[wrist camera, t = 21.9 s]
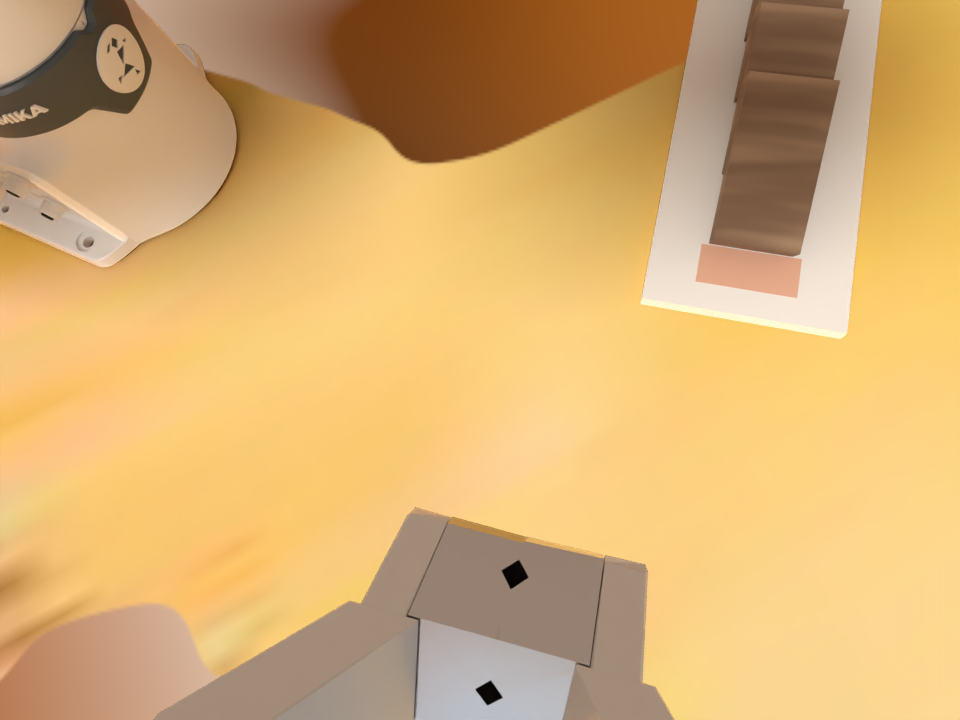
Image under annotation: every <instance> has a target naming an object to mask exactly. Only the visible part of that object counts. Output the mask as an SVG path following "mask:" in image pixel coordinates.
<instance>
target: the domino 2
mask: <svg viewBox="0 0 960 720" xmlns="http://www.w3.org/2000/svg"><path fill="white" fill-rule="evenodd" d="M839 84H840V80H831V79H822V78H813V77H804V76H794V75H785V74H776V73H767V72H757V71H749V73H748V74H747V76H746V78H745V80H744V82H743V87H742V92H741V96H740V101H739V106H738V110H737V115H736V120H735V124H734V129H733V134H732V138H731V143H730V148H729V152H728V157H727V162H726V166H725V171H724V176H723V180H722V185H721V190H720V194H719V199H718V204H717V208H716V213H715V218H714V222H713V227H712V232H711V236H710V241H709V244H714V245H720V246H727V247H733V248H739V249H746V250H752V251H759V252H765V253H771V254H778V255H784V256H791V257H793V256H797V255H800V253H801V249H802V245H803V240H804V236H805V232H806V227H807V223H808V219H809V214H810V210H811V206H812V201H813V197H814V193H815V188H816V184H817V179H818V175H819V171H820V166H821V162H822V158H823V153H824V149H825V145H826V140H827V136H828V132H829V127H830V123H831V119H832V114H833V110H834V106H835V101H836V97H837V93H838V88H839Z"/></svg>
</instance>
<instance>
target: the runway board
mask: <svg viewBox="0 0 960 720" xmlns="http://www.w3.org/2000/svg"><path fill="white" fill-rule="evenodd" d="M751 5H752V0H698V1H697V7H696V12H695V17H694V23H693V28H692V34H691V39H690V44H689V49H688V54H687V60H686V65H685V70H684V75H683V81H682V86H681V91H680V97H679V102H678V107H677V112H676V118H675V123H674V128H673V133H672V139H671V144H670V149H669V155H668V160H667V165H666V170H665V176H664V181H663V186H662V192H661V197H660V202H659V207H658V213H657V218H656V223H655V229H654V234H653V239H652V244H651V250H650V255H649V260H648V266H647V271H646V276H645V281H644V287H643V292H642V297H641V302H640V304H644V305H649V306H655V307H661V308H667V309H672V310H678V311H684V312H690V313H695V314H701V315H707V316H712V317H718V318H724V319H730V320H735V321H741V322H747V323H753V324H758V325H764V326H770V327H775V328H781V329H787V330H793V331H798V332H804V333H810V334H816V335H821V336H827V337H833V338H839V339H841V338H842V337H843V336H845V335H846V334H847V330H848V321H849V311H850V301H851V292H852V282H853V273H854V263H855V254H856V244H857V234H858V225H859V215H860V206H861V196H862V187H863V177H864V167H865V158H866V148H867V139H868V129H869V120H870V110H871V100H872V91H873V81H874V72H875V62H876V53H877V43H878V33H879V24H880V14H881V5H882V0H845V1H844V5H843V9H848V10H849V15H848V19H847V23H846V28H845V32H844V37H843V41H842V45H841V50H840V54H839V59H838V63H837V68H836V72H835V76H834V80H840V84H839V88H838V93H837V97H836V101H835V106H834V110H833V114H832V119H831V123H830V127H829V132H828V136H827V140H826V145H825V149H824V153H823V158H822V162H821V166H820V171H819V175H818V179H817V184H816V188H815V193H814V197H813V201H812V206H811V210H810V214H809V219H808V223H807V227H806V232H805V236H804V240H803V245H802V249H801V253H800V255H797V256H793V257H791V256H784V255H778V254H771V253H765V252H759V251H752V250H746V249H739V248H733V247H727V246H720V245H714V244H709V241H710V236H711V232H712V227H713V222H714V218H715V213H716V208H717V204H718V199H719V194H720V190H721V185H722V180H723V176H724V175H723V174H722V170H723V165H724V161H725V156H726V151H727V146H728V142H729V137H730V132H731V128H732V123H733V118H734V113H735V109H736V104H737V103H734V98H735V93H736V88H737V84H738V79H739V74H740V70H741V65H742V61H743V56H744V51H745V47H746V42H744V38H745V33H746V29H747V24H748V19H749V15H750V10H751Z"/></svg>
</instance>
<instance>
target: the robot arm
mask: <svg viewBox="0 0 960 720" xmlns="http://www.w3.org/2000/svg"><path fill="white" fill-rule="evenodd" d="M236 141H237V134H236V125H235V120H234V117H233V114H232V111H231V109H230V107H229V105H228V104H227V102H226V101H225V99H224V98H223V97H222V96H221V94H220V93H219V92H218V91H217V90H216V89H215V88H214V87H213V86H212V85H211V84H210V83H209V82H208V80H207V79H206V76H205V72H204V68H203V65H202V62H201V60H200V58H199V57H198V55H197V54H196V53H195V52H194V51H193V50H192V49H191V48H190V47H189V46H187V45H184V44H183V45H182V44H179V45H178V44H177V45H176V44H175V43H174V42H173V41H172V40H171V39H170V38H169V37H168V35H167V34H166V33H165V32H164V31H163V30H162V29H161V28H160V27H159V26H158V25H157V24H156V23H155V22H154V20H152V18H151V17H150V16H149V15H148V14H147V13H146V12H145V11H144V10H143V9H142V8H141V7H140V6H139V5H138V4H137V3H136V1H135V0H0V224H2V225H5V226H7V227H9V228H12V229H14V230H16V231H18V232H21V233H23V234H25V235H27V236H30V237H32V238H34V239H37V240H39V241H41V242H43V243H46V244H48V245H50V246H53V247H55V248H57V249H59V250H62V251H64V252H66V253H69V254H71V255H73V256H75V257H78V258H80V259H82V260H85V261H87V262H89V263H91V264H94V265H96V266H99V267H109V266H112V265H114V264H116V263H117V262H119V261H120V260H121V259H123V258H124V257H125V256H126V255H128V254H129V253H130V252H131V251H132V250H133V249H135V248H136V247H137V246H138V245H139V244H140V243H142V242H144V241H146V240H148V239H150V238H153V237H155V236H158V235H160V234H163V233H165V232H167V231H170V230H172V229H174V228H176V227H177V226H179V225H181V224H183V223H184V222H186V221H187V220H189V219H190V218H191V217H193V216H194V215H195V214H197V213H198V212H199V211H200V210H201V209H202V208H203V207H204V206H205V205H206V204H207V203H208V202H209V201H210V200H211V199H212V198H213V197H214V195H215V194H216V193H217V191H218V190H219V188H220V187H221V185H222V184H223V182H224V180H225V179H226V177H227V175H228V173H229V170H230V168H231V165H232V162H233V159H234V155H235V150H236ZM93 242H94V243H93ZM92 243H93V245H92V246H91V247H90V245H91V244H92ZM647 581H648V570H647V568H646V565H645V564H641V563H637V562H632V561H628V560H624V559H620V558H615V557H611V556H607V555H605V557H604V556H603V555H602V554H598V553H594V552H589V551H585V550H581V549H577V548H573V547H568V546H564V545H560V544H556V543H552V542H548V541H543V540H539V539H535V538H531V537H524V536H521V535H517V534H514V533H510V532H506V531H503V530H499V529H495V528H492V527H488V526H484V525H481V524H477V523H473V522H470V521H466V520H463V519H459V518H455V517H448V516H445V515H441V514H438V513H434V512H430V511H427V510H423V509H420V508H416V507H415V508H414V509H413V510H412V511H411V512H410V513H409V514H408V515H407V517H406V519H405V521H404V523H403V525H402V527H401V528H400V530H399V532H398V534H397V536H396V538H395V540H394V542H393V544H392V545H391V547H390V549H389V551H388V553H387V555H386V557H385V559H384V561H383V563H382V564H381V566H380V568H379V570H378V572H377V574H376V576H375V578H374V580H373V582H372V583H371V585H370V587H369V589H368V591H367V593H366V595H365V597H364V599H363V601H362V602H361V604H360V603H356V602H352V601H348V602H346V603H345V604H343V605H341V606H340V607H338V608H336V609H335V610H333V611H331V612H329V613H328V614H326V615H324V616H323V617H321V618H319V619H318V620H316V621H314V622H313V623H311V624H309V625H307V626H306V627H304V628H302V629H301V630H299V631H297V632H296V633H294V634H292V635H290V636H289V637H287V638H285V639H284V640H282V641H280V642H279V643H277V644H275V645H274V646H272V647H270V648H268V649H267V650H265V651H263V652H262V653H260V654H258V655H257V656H255V657H253V658H251V659H250V660H248V661H246V662H245V663H243V664H241V665H240V666H238V667H236V668H235V669H233V670H231V671H229V672H228V673H226V674H224V675H223V676H221V677H219V678H218V679H216V680H214V681H212V682H211V683H209V684H208V685H206V686H204V687H202V688H201V689H199V690H197V691H196V692H194V693H192V694H191V695H189V696H187V697H185V698H184V699H182V700H180V701H179V702H177V703H175V704H173V705H172V706H170V707H168V708H167V709H165V710H163V711H162V712H160V713H158V714H157V716H156V717H155V718H154V720H674V718H673V716H672V715H671V713H670V711H669V709H668V708H667V706H666V704H665V702H664V701H663V699H662V697H661V695H660V694H659V692H658V690H657V688H656V687H654V686H651V685H648V684H645V683H642V680H643V660H644V641H645V621H646V601H647Z"/></svg>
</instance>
